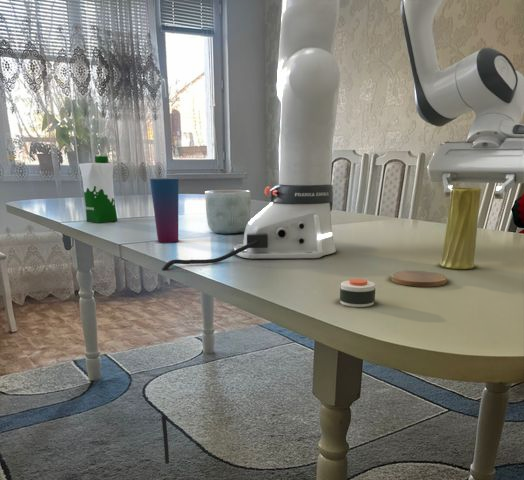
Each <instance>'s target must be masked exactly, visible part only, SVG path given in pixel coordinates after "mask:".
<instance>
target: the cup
mask: <svg viewBox="0 0 524 480" xmlns="http://www.w3.org/2000/svg"><path fill="white" fill-rule="evenodd" d="M149 184H150V192H151V199H152V207H153V214H154V222H155V229H156V237H157V242H158V243H161V244H162V243H163V244H171V243H173V244H174V243H177V242H179V178H178V177H151V178H149Z"/></svg>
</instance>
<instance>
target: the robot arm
mask: <svg viewBox="0 0 524 480" xmlns="http://www.w3.org/2000/svg"><path fill="white" fill-rule="evenodd" d="M340 1H341V0H281V17H280V19H281V20H280V31H279V34H280V35H279V46H278V47H279V48H278V62H277V81H276V91H277V97H278V100H279V102H280V104H281V105H280V106H281V107H280V109H281V110H280V125H279V126H280V129H279V142H278V184H276V185H275V186H273V187H272V186H270V185H269V186H266V187H265V188H264V190H263V192H264V194H265V195H266V197H269V204H268V205H266V206H265V207H264V208H263V209H262V210H260V211H259V212H258V213H257V214H255V215H254V216H253V217H252V218H250V221H249V222H248V223H247V225H246V228H245V231H244V232H243V241H242V242H243V243H241V244H240V243H238V244H236V245H234V247H233V251H231V252H228V253H226V254H223V255H221V256H219V257H216V258H207V259H171V260H169V261H167V262H166V263H165V264H164V266H163V267H161V271H162V272H163V271H164V272H165V271H167V270H168V269H169V268H170V267H171V266H174V265H205V264H206V265H209V264H216V263H219V262H223V261H225V260H227V259H230V258H231V257H234V256H238V257H240V258H245V259H252V260H253V259H319V258H321V257H323V256H326V255H331V254H334V253H336V252H337V249H336V246H335V245H336V244H335V239H334V235H333V234H334V233H333V226H332V211H333V205H334V186H333V184H332V164H333V163H332V162H333V143H334V135H335V130H336V129H335V127H336V121H337V112H338V103H339V94H340V93H339V92H340V83H341V71H340V67H339V64H338V62H337V60H336V58H335V57H334V56H333V54H334V48H335V40H336V34H337V28H338V24H339V19H340V17H339V16H340V3H341V2H340ZM443 2H444V0H400V17H401V21H402V29H403V33H404V38H405V43H406V49H407V53H408V59H409V63H410V68H411V74H412V79H413V86H414V103H415V108H416V112H417V114H418V116H419V117H420V119H422V120H423V121H425V122H426V123H427V124H430V125H431V126H435V127H444V126H445V125H447V124H449V123H452V122H453V121H454V120H456V119H458V118H459V117H461V116H463V115H466V114H468V113H470V112H472V111H473V113H474V114H475V118H474V120H473V121H472V124H471V125H470V129H469V131H468V134H467V136H466V137H467V138H466V140H461V141H459V140H458V141H444V142H443V143H441V144H439V145H438V144H437V145H436V146H435V148H434V151H433V153H432V156H431V158H430V160H429V162H428V164H427V167H426V169H427V176H428V178H429V181H431V182H432V183H442V185H443V193H442V194H443V197H444V198H450V193H451V188H454V185H453V184H452V183H479V184H484V183H485V184H502V185H497V186H496V187H495V190H494V199H495V200H504V198H505V195H506V193H508V192H509V191H510V190H511V189H513V188H514V186H515V184H523V185H524V124H521V121H522V118H523V114H524V75H523V74H522V72H520V71H518V70H516V69H515V67H514V64H513V63H512V61H511V60H510V59H509V58H508V56H507V55H506V54H504V53H503V52H501V51H499V50H497V49H496V48H495V49H494V48H492V47H483V48H481V49H479V50H477V51H475V52H473V53H471V54H468V55H467V56H466V57H464V58H461V59H460V60H459V61H457V62H456V63H453V64H452V65H450V66H448V67H445V68H444V69H443V70H441V68H440V65H439V60H438V55H437V50H436V44H435V39H434V31H433V23H434V21H435V20H434V19H435V17H436V14H437V12H438V10H439V8H440V6H441V5H442V3H443ZM166 416H167V415H161V425H162V436H163V451H164V464H165V465H168V464H170V454H169V438H168V437H169V436H168V426H167V417H166Z"/></svg>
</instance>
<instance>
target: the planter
mask: <svg viewBox="0 0 524 480" xmlns="http://www.w3.org/2000/svg"><path fill="white" fill-rule="evenodd" d="M251 192H252V191H251V190H245V189H214V190H206V191H204V198H205V199H204V200H205V212H206V221H207V226H208V229H209V230H210V231H211V232H212V233H215V234H223V235H233V234H234V235H235V234H241V233H245V228H246V225H247V223H248V222H249V221H250V220H251V199H252V198H251V195H252V193H251Z"/></svg>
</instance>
